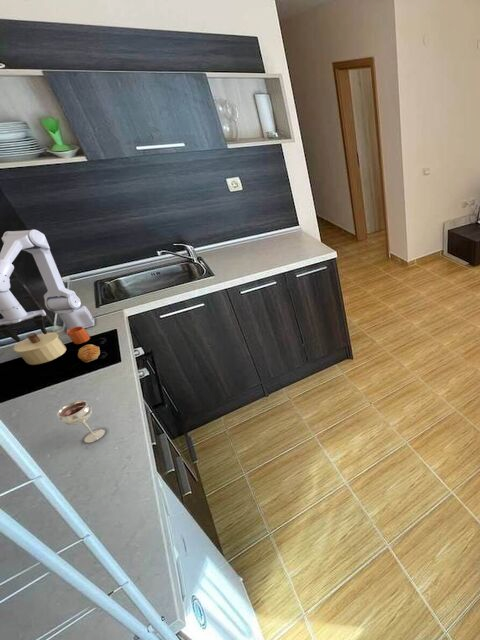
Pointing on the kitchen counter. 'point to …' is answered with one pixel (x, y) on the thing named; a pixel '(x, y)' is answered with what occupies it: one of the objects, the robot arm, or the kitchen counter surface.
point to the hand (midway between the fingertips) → (32, 336)
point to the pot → (44, 353)
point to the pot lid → (35, 342)
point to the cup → (78, 335)
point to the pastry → (88, 353)
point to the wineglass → (79, 418)
